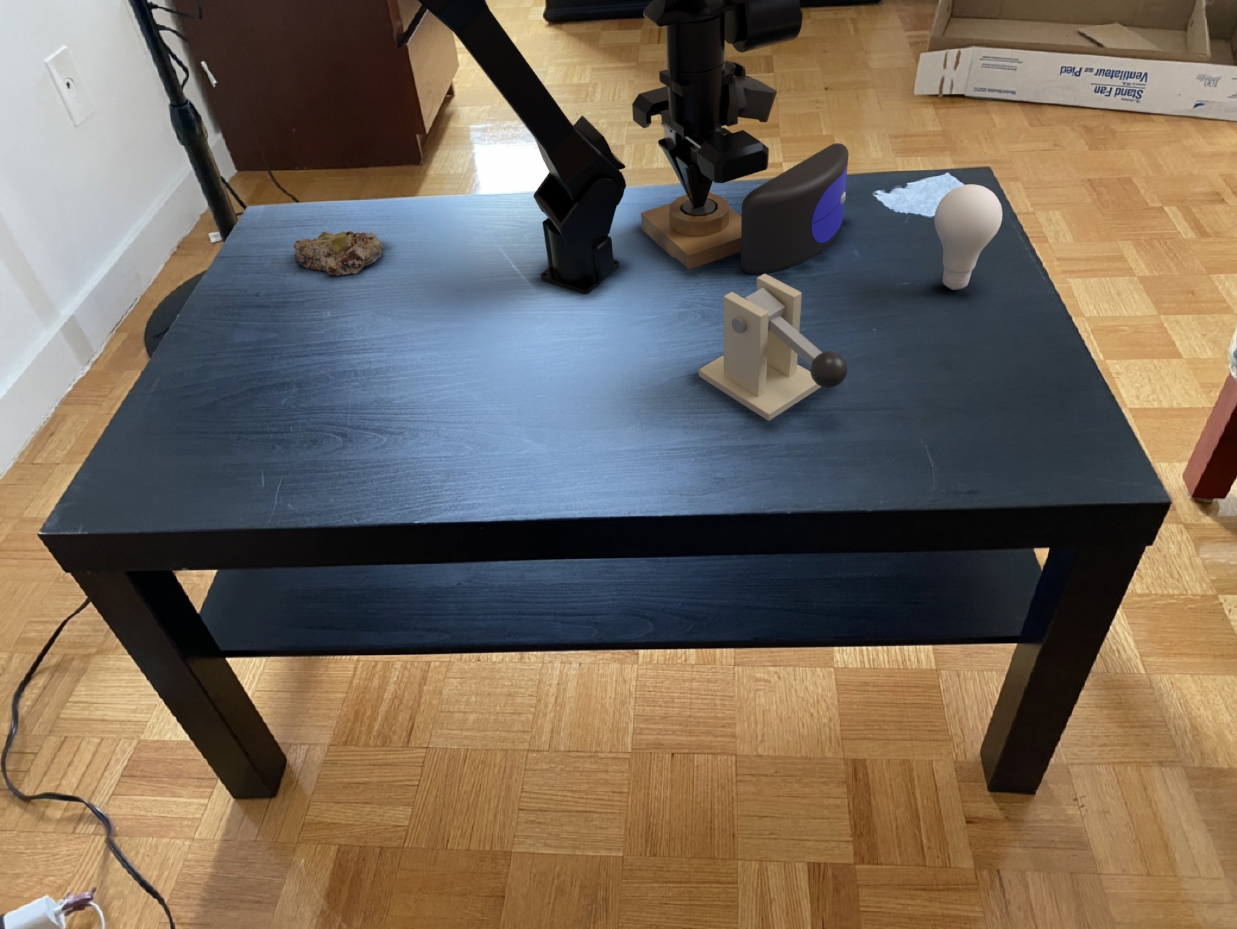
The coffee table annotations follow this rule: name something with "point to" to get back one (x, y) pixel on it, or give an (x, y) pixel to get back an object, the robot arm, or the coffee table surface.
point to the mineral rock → (339, 252)
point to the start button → (699, 209)
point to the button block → (694, 231)
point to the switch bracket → (760, 354)
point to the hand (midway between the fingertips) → (698, 206)
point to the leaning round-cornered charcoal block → (794, 213)
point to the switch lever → (801, 343)
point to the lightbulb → (965, 230)
